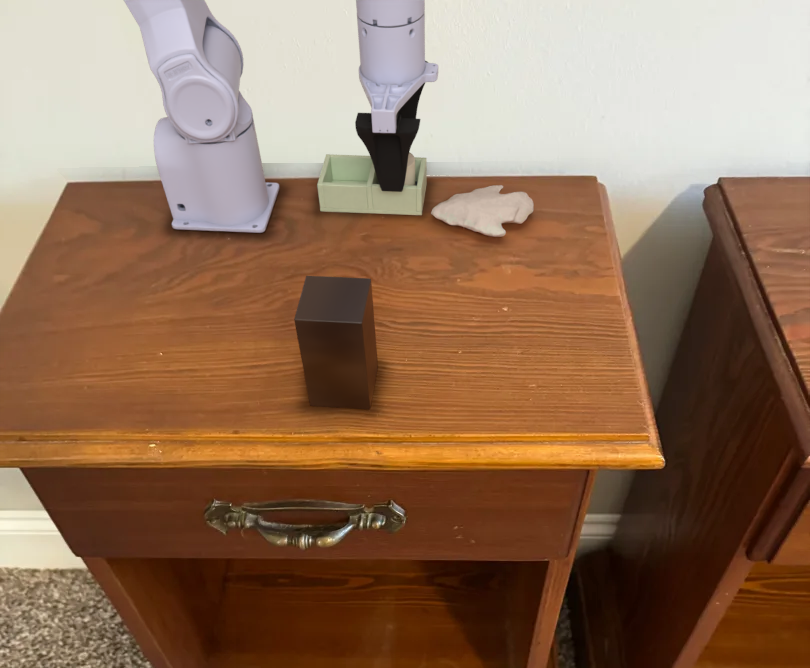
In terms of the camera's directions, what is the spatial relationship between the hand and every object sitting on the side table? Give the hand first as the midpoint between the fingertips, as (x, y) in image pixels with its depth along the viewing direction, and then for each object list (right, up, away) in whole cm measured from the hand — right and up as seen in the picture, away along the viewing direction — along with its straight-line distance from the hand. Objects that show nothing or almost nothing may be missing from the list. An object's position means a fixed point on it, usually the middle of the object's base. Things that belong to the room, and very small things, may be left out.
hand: (396, 166), depth 76 cm
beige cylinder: (0, -2, +2) cm, 3 cm away
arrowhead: (+8, -5, +1) cm, 10 cm away
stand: (-4, -24, -12) cm, 27 cm away
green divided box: (-2, -2, +3) cm, 4 cm away
